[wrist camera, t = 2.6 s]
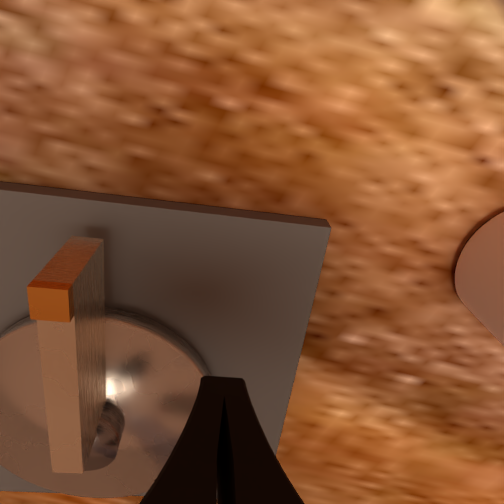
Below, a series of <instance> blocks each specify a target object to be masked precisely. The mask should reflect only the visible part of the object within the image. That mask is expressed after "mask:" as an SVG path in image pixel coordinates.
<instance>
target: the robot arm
mask: <svg viewBox="0 0 504 504" xmlns="http://www.w3.org/2000/svg"><path fill="white" fill-rule="evenodd" d="M139 504H304V502H303V501H302V499H301V498H300V496H299V495H298V493H297V492H296V490H295V489H294V487H293V485H292V484H291V482H290V481H289V479H288V477H287V476H286V474H285V472H284V471H283V469H282V467H281V465H280V463H279V462H278V460H277V458H276V456H275V454H274V452H273V450H272V448H271V446H270V444H269V442H268V440H267V438H266V436H265V434H264V432H263V429H262V427H261V425H260V423H259V421H258V418H257V416H256V413H255V411H254V408H253V405H252V403H251V400H250V397H249V394H248V391H247V387H246V383H245V381H244V380H243V378H234V377H219V376H203V377H202V378H201V380H200V386H199V390H198V394H197V397H196V400H195V403H194V405H193V408H192V411H191V413H190V415H189V418H188V420H187V422H186V424H185V427H184V429H183V431H182V433H181V435H180V437H179V439H178V441H177V443H176V445H175V447H174V449H173V450H172V452H171V454H170V456H169V458H168V460H167V461H166V463H165V465H164V466H163V468H162V470H161V471H160V473H159V475H158V476H157V478H156V480H155V481H154V483H153V484H152V486H151V487H150V489H149V490H148V492H147V493H146V495H145V496H144V498H143V499H142V501H141V502H140V503H139Z"/></svg>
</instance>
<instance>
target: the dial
mask: <svg viewBox="0 0 504 504" xmlns="http://www.w3.org/2000/svg"><path fill="white" fill-rule="evenodd" d="M27 294H28V303H29V312H30V316H29V317H27V318H25V319H22V320H20V321H18V322H17V323H15V324H14V325H12V326H11V327H9V328H8V329H6V330H5V331H4V332H3V333H2V334H1V335H0V465H1V466H3V467H4V468H6V469H7V470H8V471H10V472H11V473H13V474H15V475H16V476H18V477H20V478H22V479H24V480H26V481H28V482H30V483H33V484H35V485H37V486H40V487H43V488H46V489H49V490H52V491H55V492H59V493H64V494H68V495H74V496H81V497H92V498H114V497H125V496H131V495H137V494H141V493H145V492H148V490H149V489H150V487H151V486H152V484H153V483H154V481H155V480H156V478H157V476H158V475H159V473H160V471H161V470H162V468H163V466H164V465H165V463H166V461H167V460H168V458H169V456H170V454H171V452H172V450H173V449H174V447H175V445H176V443H177V441H178V439H179V437H180V435H181V433H182V431H183V429H184V427H185V424H186V422H187V420H188V418H189V415H190V413H191V411H192V408H193V405H194V403H195V400H196V397H197V394H198V390H199V386H200V380H201V378H202V377H203V376H211V375H210V373H209V371H208V369H207V367H206V365H205V363H204V362H203V361H202V359H201V358H200V356H199V355H198V354H197V352H196V351H195V350H194V349H193V348H192V347H191V346H190V345H189V344H188V343H187V342H186V341H184V340H183V339H182V338H181V337H180V336H178V335H177V334H176V333H174V332H173V331H171V330H169V329H168V328H166V327H165V326H163V325H161V324H159V323H157V322H155V321H153V320H151V319H149V318H146V317H143V316H141V315H138V314H135V313H132V312H128V311H124V310H120V309H116V308H108V307H105V292H104V239H99V238H89V237H80V236H71V237H70V238H69V240H68V241H67V242H66V243H65V244H64V245H63V246H62V247H61V249H60V250H59V251H58V252H57V253H56V254H55V255H54V256H53V258H52V259H51V260H50V261H49V262H48V263H47V264H46V265H45V267H44V268H43V269H42V270H41V271H40V272H39V273H38V274H37V276H36V277H35V278H34V279H33V280H32V281H31V282H30V283H29V284H28V286H27Z"/></svg>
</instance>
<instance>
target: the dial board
mask: <svg viewBox="0 0 504 504" xmlns="http://www.w3.org/2000/svg"><path fill="white" fill-rule="evenodd" d="M330 231H331V226H330V225H329V223H328V222H327V220H325V219H316V218H308V217H299V216H290V215H282V214H273V213H265V212H256V211H248V210H239V209H231V208H222V207H214V206H205V205H196V204H188V203H179V202H171V201H162V200H154V199H145V198H137V197H128V196H119V195H111V194H102V193H94V192H85V191H77V190H68V189H60V188H51V187H43V186H34V185H25V184H17V183H8V182H0V335H1V334H2V333H3V332H4V331H5V330H6V329H8V328H9V327H11V326H12V325H14V324H15V323H17V322H18V321H20V320H22V319H25V318H27V317H29V316H30V312H29V303H28V294H27V286H28V284H29V283H30V282H31V281H32V280H33V279H34V278H35V277H36V276H37V274H38V273H39V272H40V271H41V270H42V269H43V268H44V267H45V265H46V264H47V263H48V262H49V261H50V260H51V259H52V258H53V256H54V255H55V254H56V253H57V252H58V251H59V250H60V249H61V247H62V246H63V245H64V244H65V243H66V242H67V241H68V240H69V238H70V237H71V236H80V237H89V238H99V239H104V292H105V307H108V308H116V309H120V310H124V311H128V312H132V313H135V314H138V315H141V316H143V317H146V318H149V319H151V320H153V321H155V322H157V323H159V324H161V325H163V326H165V327H166V328H168V329H169V330H171V331H173V332H174V333H176V334H177V335H178V336H180V337H181V338H182V339H183V340H184V341H186V342H187V343H188V344H189V345H190V346H191V347H192V348H193V349H194V350H195V351H196V352H197V354H198V355H199V356H200V358H201V359H202V361H203V362H204V363H205V365H206V367H207V369H208V371H209V373H210V375H211V376H219V377H234V378H243V380H244V381H245V383H246V387H247V391H248V394H249V397H250V400H251V403H252V405H253V408H254V411H255V413H256V416H257V418H258V421H259V423H260V425H261V427H262V429H263V432H264V434H265V436H266V438H267V440H268V442H269V444H270V446H271V448H272V450H273V452H274V454H275V456H276V452H277V448H278V444H279V440H280V436H281V432H282V428H283V423H284V419H285V415H286V411H287V407H288V403H289V399H290V395H291V391H292V387H293V383H294V378H295V374H296V370H297V366H298V362H299V358H300V354H301V350H302V346H303V342H304V337H305V333H306V329H307V325H308V321H309V317H310V313H311V309H312V305H313V301H314V297H315V292H316V288H317V284H318V280H319V276H320V272H321V268H322V264H323V260H324V256H325V252H326V247H327V243H328V239H329V235H330ZM0 491H19V492H47V493H59V492H55V491H52V490H49V489H46V488H43V487H40V486H37V485H35V484H33V483H30V482H28V481H26V480H24V479H22V478H20V477H18V476H16V475H15V474H13V473H11V472H10V471H8V470H7V469H6V468H4V467H3V466H1V465H0ZM146 493H147V492H145V493H141V494H137V495H132V496H145V495H146Z"/></svg>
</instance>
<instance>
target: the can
mask: <svg viewBox="0 0 504 504" xmlns="http://www.w3.org/2000/svg"><path fill="white" fill-rule="evenodd" d="M455 287H456V292H457V295H458V297H459V298H460V300H461V301H462V302H463V304H464V305H465V306H466V307H467V308H468V309H469V310H470V311H471V312H472V313H473V314H474V316H475V317H476V318H477V319H478V320H479V321H480V322H481V323H482V324H483V325H484V326H485V327H486V328H487V329H488V330H489V331H490V332H491V333H492V334H493V335H494V336H495V337H496V339H497V340H498V341H499V342H500V343H501V344H502V345H503V346H504V212H502V213H500V214H499V215H497V216H495V217H493V218H492V219H490V220H489V221H487V222H486V223H485V224H484V225H482V226H481V227H480V228H479V229H478V230H477V231H476V232H475V233H474V234H473V235H472V236H471V238H470V239H469V240H468V242H467V243H466V245H465V246H464V248H463V250H462V252H461V254H460V257H459V259H458V262H457V265H456V270H455Z"/></svg>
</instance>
